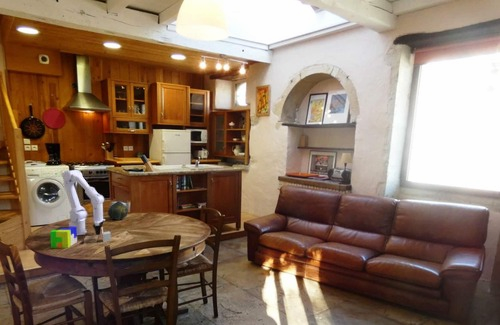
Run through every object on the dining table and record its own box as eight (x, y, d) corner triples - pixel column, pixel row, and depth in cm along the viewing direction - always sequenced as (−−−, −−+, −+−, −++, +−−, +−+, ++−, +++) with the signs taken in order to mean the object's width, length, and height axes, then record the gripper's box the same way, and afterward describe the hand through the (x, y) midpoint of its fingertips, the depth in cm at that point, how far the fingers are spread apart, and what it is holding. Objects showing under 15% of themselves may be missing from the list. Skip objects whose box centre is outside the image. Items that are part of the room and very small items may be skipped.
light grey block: (103, 242, 189) (103, 234, 189) (102, 240, 193) (101, 232, 192) (110, 240, 192) (110, 233, 191) (109, 238, 195) (109, 231, 195)
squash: (108, 216, 229) (121, 199, 236) (101, 213, 240) (113, 197, 246) (123, 225, 238) (134, 209, 244) (115, 222, 248) (126, 207, 254)
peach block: (94, 236, 199) (94, 229, 199) (95, 234, 203) (95, 227, 203) (102, 235, 201) (101, 228, 200) (103, 233, 205) (102, 226, 204)
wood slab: (83, 244, 186) (83, 239, 186) (86, 240, 192) (86, 236, 192) (96, 243, 188) (96, 238, 188) (98, 239, 195) (98, 234, 194)
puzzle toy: (77, 242, 189) (76, 226, 188) (68, 247, 179) (67, 231, 178) (61, 242, 189) (60, 226, 188) (51, 247, 179) (50, 231, 178)
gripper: (103, 215, 195) (104, 235, 196) (106, 210, 209) (106, 229, 210) (91, 216, 193) (92, 236, 194) (94, 211, 207) (95, 230, 208)
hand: (98, 233), depth 202 cm, fingers open, 6 cm apart
